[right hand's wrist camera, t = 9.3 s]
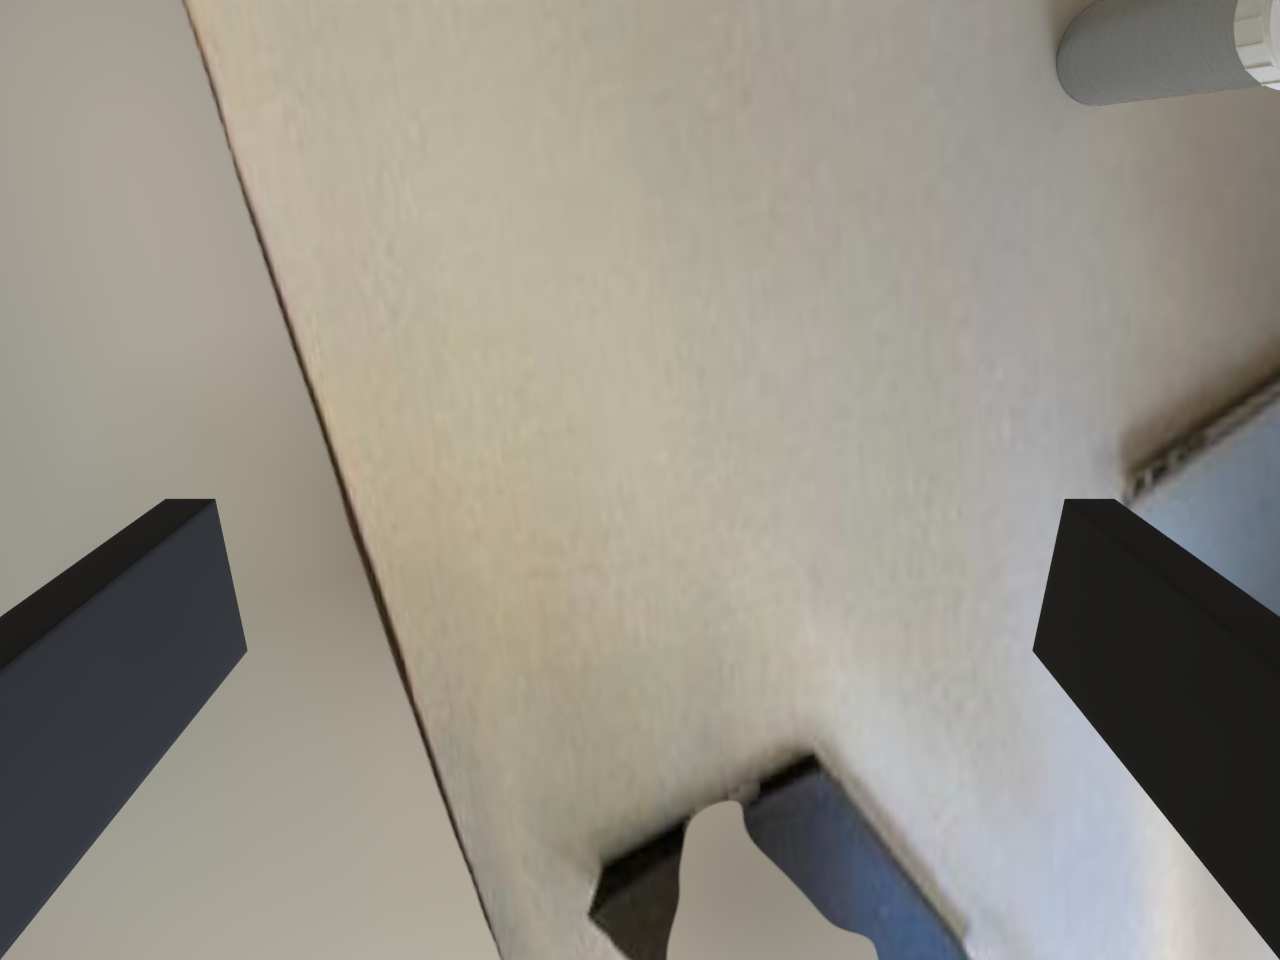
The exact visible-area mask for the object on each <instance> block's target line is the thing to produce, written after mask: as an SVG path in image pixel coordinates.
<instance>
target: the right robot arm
mask: <svg viewBox="0 0 1280 960" xmlns="http://www.w3.org/2000/svg"><path fill="white" fill-rule="evenodd" d="M246 652H247V646H246V641H245V637H244V632H243V627H242V623H241V618H240V613H239V608H238V604H237V599H236V594H235V590H234V585H233V580H232V576H231V571H230V566H229V562H228V557H227V552H226V547H225V543H224V538H223V533H222V529H221V524H220V519H219V514H218V510H217V505H216V500H215V499H165V500H164V501H162V502H161V503H159V504H158V505H156V506H155V507H154V508H152V509H151V510H149V511H148V512H147V513H145V514H144V515H143V516H141V517H140V518H138V519H137V520H135V521H134V522H133V523H131V524H130V525H128V526H127V527H126V528H124V529H123V530H121V531H120V532H119V533H117V534H116V535H114V536H113V537H112V538H110V539H109V540H107V541H106V542H105V543H103V544H102V545H100V546H99V547H98V548H96V549H95V550H93V551H92V552H91V553H89V554H88V555H86V556H85V557H84V558H82V559H81V560H79V561H78V562H77V563H75V564H74V565H72V566H71V567H70V568H68V569H67V570H65V571H64V572H63V573H61V574H60V575H58V576H57V577H56V578H54V579H53V580H51V581H50V582H49V583H47V584H46V585H44V586H43V587H42V588H40V589H39V590H37V591H36V592H35V593H33V594H32V595H30V596H29V597H28V598H26V599H25V600H23V601H22V602H21V603H19V604H18V605H16V606H15V607H14V608H12V609H11V610H9V611H8V612H7V613H5V614H4V615H2V616H1V617H0V959H1V958H2V957H3V956H4V954H5V953H6V952H7V951H8V949H9V948H10V947H11V946H12V944H13V943H14V942H15V940H16V939H17V938H18V937H19V936H20V934H21V933H22V932H23V931H24V929H25V928H26V927H27V926H28V924H29V923H30V922H31V921H32V919H33V918H34V917H35V916H36V914H37V913H38V912H39V911H40V909H41V908H42V907H43V906H44V904H45V903H46V902H47V901H48V899H49V898H50V897H51V896H52V894H53V893H54V892H55V891H56V889H57V888H58V887H59V886H60V884H61V883H62V882H63V881H64V879H65V878H66V877H67V876H68V874H69V873H70V872H71V871H72V869H73V868H74V867H75V866H76V864H77V863H78V862H79V860H80V859H81V858H82V857H83V856H84V854H85V853H86V852H87V851H88V849H89V848H90V847H91V846H92V844H93V843H94V842H95V841H96V839H97V838H98V837H99V836H100V834H101V833H102V832H103V831H104V829H105V828H106V827H107V826H108V824H109V823H110V822H111V821H112V819H113V818H114V817H115V816H116V814H117V813H118V812H119V811H120V809H121V808H122V807H123V806H124V804H125V803H126V802H127V801H128V799H129V798H130V797H131V796H132V794H133V793H134V792H135V791H136V789H137V788H138V787H139V786H140V784H141V783H142V782H143V781H144V779H145V778H146V777H147V776H148V774H149V773H150V772H151V771H152V769H153V768H154V767H155V766H156V764H157V763H158V762H159V761H160V759H161V758H162V757H163V756H164V754H165V753H166V752H167V751H168V749H169V748H170V747H171V746H172V744H173V743H174V742H175V741H176V739H177V738H178V737H179V736H180V734H181V733H182V732H183V731H184V729H185V728H186V727H187V726H188V724H189V723H190V722H191V721H192V719H193V718H194V717H195V716H196V714H197V713H198V712H199V711H200V709H201V708H202V707H203V706H204V704H205V703H206V702H207V701H208V699H209V698H210V697H211V696H212V694H213V693H214V692H215V691H216V689H217V688H218V687H219V686H220V684H221V683H222V682H223V681H224V679H225V678H226V677H227V676H228V674H229V673H230V672H231V671H232V669H233V668H234V667H235V666H236V664H237V663H238V662H239V661H240V659H241V658H242V657H243V656H244V654H245V653H246ZM1033 652H1034V653H1035V654H1036V656H1037V657H1038V658H1039V659H1040V661H1041V662H1042V663H1043V664H1044V666H1045V667H1046V668H1047V669H1048V671H1049V672H1050V673H1051V674H1052V676H1053V677H1054V678H1055V679H1056V681H1057V682H1058V683H1059V684H1060V686H1061V687H1062V688H1063V689H1064V691H1065V692H1066V693H1067V694H1068V696H1069V697H1070V698H1071V699H1072V701H1073V702H1074V703H1075V704H1076V706H1077V707H1078V708H1079V709H1080V711H1081V712H1082V713H1083V714H1084V716H1085V717H1086V718H1087V719H1088V721H1089V722H1090V723H1091V724H1092V726H1093V727H1094V728H1095V729H1096V731H1097V732H1098V733H1099V734H1100V736H1101V737H1102V738H1103V739H1104V741H1105V742H1106V743H1107V744H1108V746H1109V747H1110V748H1111V749H1112V751H1113V752H1114V753H1115V754H1116V756H1117V757H1118V758H1119V759H1120V761H1121V762H1122V763H1123V764H1124V766H1125V767H1126V768H1127V769H1128V771H1129V772H1130V773H1131V774H1132V776H1133V777H1134V778H1135V779H1136V781H1137V782H1138V783H1139V784H1140V786H1141V787H1142V788H1143V789H1144V791H1145V792H1146V793H1147V794H1148V796H1149V797H1150V798H1151V799H1152V801H1153V802H1154V803H1155V804H1156V806H1157V807H1158V808H1159V809H1160V811H1161V812H1162V813H1163V814H1164V816H1165V817H1166V818H1167V819H1168V821H1169V822H1170V823H1171V824H1172V826H1173V827H1174V828H1175V829H1176V831H1177V832H1178V833H1179V834H1180V836H1181V837H1182V838H1183V839H1184V841H1185V842H1186V843H1187V844H1188V846H1189V847H1190V848H1191V849H1192V851H1193V852H1194V853H1195V854H1196V856H1197V857H1198V858H1199V859H1200V861H1201V862H1202V863H1203V864H1204V866H1205V867H1206V868H1207V869H1208V871H1209V872H1210V873H1211V874H1212V876H1213V877H1214V878H1215V879H1216V881H1217V882H1218V883H1219V884H1220V886H1221V887H1222V888H1223V889H1224V891H1225V892H1226V893H1227V894H1228V896H1229V897H1230V898H1231V899H1232V901H1233V902H1234V903H1235V904H1236V906H1237V907H1238V908H1239V909H1240V911H1241V912H1242V913H1243V914H1244V916H1245V917H1246V918H1247V919H1248V921H1249V922H1250V923H1251V924H1252V926H1253V927H1254V928H1255V929H1256V931H1257V932H1258V933H1259V934H1260V936H1261V937H1262V938H1263V939H1264V941H1265V942H1266V943H1267V944H1268V946H1269V947H1270V948H1271V949H1272V951H1273V952H1274V953H1275V954H1276V956H1277V957H1278V958H1279V959H1280V617H1279V616H1278V615H1276V614H1275V613H1273V612H1272V611H1271V610H1269V609H1268V608H1266V607H1265V606H1264V605H1262V604H1261V603H1259V602H1258V601H1257V600H1255V599H1254V598H1252V597H1251V596H1250V595H1248V594H1247V593H1245V592H1244V591H1243V590H1241V589H1240V588H1238V587H1237V586H1236V585H1234V584H1233V583H1231V582H1230V581H1229V580H1227V579H1226V578H1224V577H1223V576H1222V575H1220V574H1219V573H1217V572H1216V571H1215V570H1213V569H1212V568H1210V567H1209V566H1208V565H1206V564H1205V563H1203V562H1202V561H1201V560H1199V559H1198V558H1196V557H1195V556H1194V555H1192V554H1191V553H1189V552H1188V551H1187V550H1185V549H1184V548H1182V547H1181V546H1180V545H1178V544H1177V543H1175V542H1174V541H1173V540H1171V539H1170V538H1168V537H1167V536H1166V535H1164V534H1163V533H1161V532H1160V531H1159V530H1157V529H1156V528H1154V527H1153V526H1152V525H1150V524H1149V523H1147V522H1146V521H1145V520H1143V519H1142V518H1140V517H1139V516H1138V515H1136V514H1135V513H1133V512H1132V511H1131V510H1129V509H1128V508H1126V507H1125V506H1124V505H1122V504H1121V503H1119V502H1118V501H1117V500H1115V499H1065V500H1064V505H1063V510H1062V514H1061V519H1060V524H1059V529H1058V533H1057V538H1056V543H1055V547H1054V552H1053V557H1052V561H1051V566H1050V571H1049V576H1048V580H1047V585H1046V590H1045V594H1044V599H1043V604H1042V608H1041V613H1040V618H1039V623H1038V627H1037V632H1036V637H1035V641H1034V646H1033Z"/></svg>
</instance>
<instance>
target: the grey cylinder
mask: <svg viewBox="0 0 1280 960" xmlns="http://www.w3.org/2000/svg"><path fill="white" fill-rule="evenodd" d="M1237 3H1238V0H1104V1H1101V2H1098V3H1096V4H1094V5H1092V6H1090V7H1089V8H1087V9H1085V10H1084V11H1083V12H1082V13H1080V14H1079V15H1078V16H1077V17H1076V18H1075V19H1074V21H1073V22H1072V23H1071V24H1070V26H1069V27H1068V29H1067V30H1066V32H1065V34H1064V36H1063V38H1062V41H1061V43H1060V46H1059V50H1058V56H1057V72H1058V76H1059V80H1060V82H1061V85H1062V86H1063V88H1064V90H1065V91H1066V92H1067V94H1068V95H1069V96H1070V97H1072V98H1073V99H1074V100H1076V101H1078V102H1080V103H1082V104H1086V105H1092V106H1100V105H1108V104H1117V103H1125V102H1134V101H1142V100H1150V99H1159V98H1167V97H1176V96H1184V95H1192V94H1201V93H1209V92H1218V91H1226V90H1234V89H1243V88H1251V87H1260V86H1262V85H1261V84H1262V83H1260V82H1259V81H1257V80H1256V79H1255V78H1253V76H1252V75H1251V74H1250V73H1249V72H1248V71H1245V69H1246V68H1245V67H1244V65H1243V64H1242V62H1241V60H1240V58H1239V55H1238V52H1237V50H1236V45H1235V38H1234V20H1235V12H1236V7H1237Z"/></svg>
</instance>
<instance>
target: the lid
mask: <svg viewBox="0 0 1280 960" xmlns="http://www.w3.org/2000/svg"><path fill="white" fill-rule="evenodd" d="M1234 38H1235V45H1236V50H1237V52H1238V55H1239V58H1240V60H1241V62H1242V64H1243V65H1244V67H1245V68H1246V69H1245V71H1248V72H1249V73H1250V74H1251V75H1252V76H1253V78H1255V79H1256V80H1257V81H1259V82H1260V83H1262V84H1261V85H1262V86H1268V87H1270V88H1273V89H1277V90H1280V0H1238V3H1237V7H1236V12H1235V20H1234Z"/></svg>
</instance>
